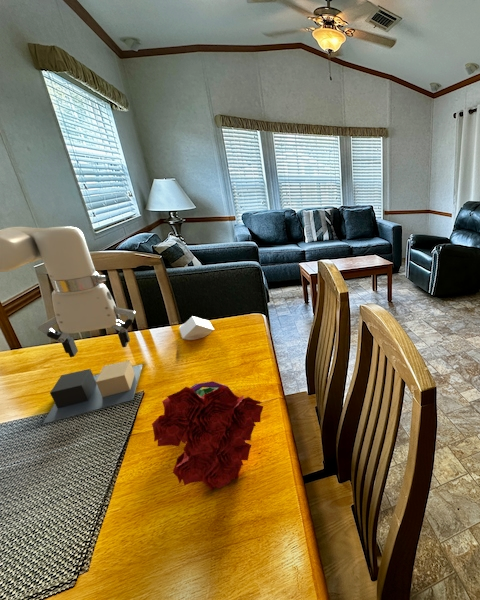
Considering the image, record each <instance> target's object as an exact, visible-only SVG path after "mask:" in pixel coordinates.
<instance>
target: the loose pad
mask: <svg viewBox="0 0 480 600" xmlns="http://www.w3.org/2000/svg"><path fill="white" fill-rule="evenodd" d="M98 374H99V377H98V379H97V381H96V384H97V386H98V388H99V391H100V393H101V395H102V397H105V396H109V395H113V394H117V393H121V392H125V391H128V390H130V389H131V386H132V382H133V379H134V376H135V373H134V370H133V365H132V362H131V360H125V361H120V362H115V363H110V364H106V365H103V366H102V368H101V370H100V371H99V373H98Z"/></svg>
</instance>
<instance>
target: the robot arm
mask: <svg viewBox="0 0 480 600" xmlns="http://www.w3.org/2000/svg"><path fill="white" fill-rule="evenodd" d="M39 260H42V262H43V265H44V267H45V270H46V272H47V275H48V278H49V280H50V283H51V286H52V288H53V291H52V292H51V302H52V308H53V312H54V316H53V317H52V318H50V319H48V320H46V321H44V322H43V323H41V324H39V325H38V326H37V329H38V330H39V331H40V332H41V333H43V334H44V335H46V336H47V337H48V338H49V339H52V340H55V341H57V342H58V343H60V344H61V345H62V347H63V349H64V353H65V354H68V355H69V358H75V356H76V355H77V353H78V352H79V349H78V347H77V345H76V342H75V339H74V337H72V336H70V335H71V334H77V333H78V334H79V333H84V332H90V331H97V330H103V329H107V328H112V329H114V330H116V331H118V333H117V335H118V338H119V342H120V345H121V347H122V348H127V347H128V345H129V344H128V343H130V341H131V337H130V334H129V332H128V329H129V328H130V327H131V325H133V323H134V320H135V317H136V314H137V311H135V310H132V309H127V308H123V307H118V306H117V305H116V303H115V300H114V298H113V296H112V294H111V292H110V290H109V289H108V287H107V285H106V284H104V283H103V282H106V281H107V276H106V275H105V274H102V275H101V274H99V273H98V271H96V268H95V266H94V262H93V259H92V256H91V252H90V250H89V248H88V244H87V241H86V239H85V235H84V233H83V231H82V230H81V229H79V228H78V227H76V226H75V227H74V226H52V227H31V226H9V227H5V228H1V229H0V273H5V272H10V271H13V270H16V269H18V268H21V267H22V266H25V265H28V264H31V263H34V262H37V261H39ZM120 316H126V317H127V318H126V320H125V321H122V320H120ZM56 324H57V326H58V329H59V330H60V331H58V330H56V329H53V327H52V326H54V325H56Z"/></svg>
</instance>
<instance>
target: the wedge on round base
mask: <svg viewBox="0 0 480 600" xmlns="http://www.w3.org/2000/svg"><path fill="white" fill-rule="evenodd" d="M178 329H179V333H180V337H181V339H182V340H186V341H193V340H194V341H195V340H199V339H203V338H205V337H207V336H209V335H210V334H212V332H213V331H215V328H214V327H213V324H212V323H211V322H210V320H209V319H205V318H201V317H198V316H193V315H191V317H189V319H187V320H186V321H185V322H184V323H182V324H181V325H180V326H179V327H178Z"/></svg>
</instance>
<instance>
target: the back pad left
mask: <svg viewBox="0 0 480 600" xmlns="http://www.w3.org/2000/svg"><path fill="white" fill-rule="evenodd" d="M95 385H96V381H95V379H94V374H93V372H92V370H91V368H87V369H82V370H78V371H74V372H70V373H65V374H62V375H60V377H59V378H58V380H57V381H56V383H55V384H54V386H53V388H52V389H51V391H50V392H49V394H50V396H51V398H52V401H53V402H54V404H56V406H57V408H61V407H65V406H69V405H73V404H77V403H81V402H85V401H88V400H89V398H90V396H91V394H92V392H93V389H94V387H95Z"/></svg>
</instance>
